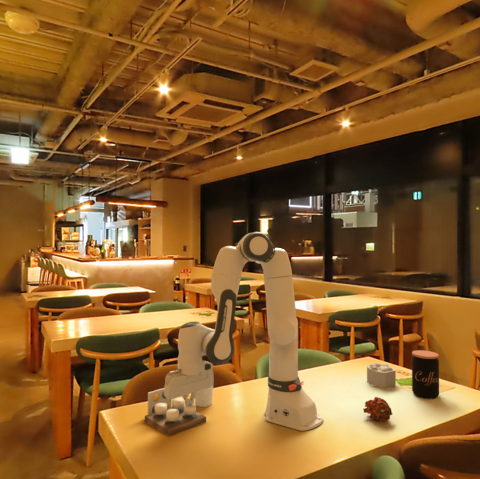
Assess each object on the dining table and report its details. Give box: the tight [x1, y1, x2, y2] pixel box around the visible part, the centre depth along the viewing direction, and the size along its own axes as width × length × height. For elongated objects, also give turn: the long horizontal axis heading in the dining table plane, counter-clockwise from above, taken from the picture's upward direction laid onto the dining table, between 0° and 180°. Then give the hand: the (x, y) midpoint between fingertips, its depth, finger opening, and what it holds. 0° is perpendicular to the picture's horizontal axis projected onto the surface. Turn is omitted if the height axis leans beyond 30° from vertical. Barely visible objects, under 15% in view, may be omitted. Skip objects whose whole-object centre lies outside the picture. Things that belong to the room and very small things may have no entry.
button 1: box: [184, 403, 197, 415], centre depth 145 cm, size 4×4×2 cm
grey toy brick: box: [366, 362, 397, 389], centre depth 187 cm, size 10×13×9 cm
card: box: [147, 387, 172, 415], centre depth 152 cm, size 1×10×9 cm, turn 134°
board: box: [144, 406, 207, 437], centre depth 145 cm, size 16×16×2 cm
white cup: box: [194, 384, 214, 408], centre depth 162 cm, size 8×8×10 cm
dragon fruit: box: [362, 396, 393, 422], centre depth 148 cm, size 8×8×12 cm
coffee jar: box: [411, 349, 440, 400], centre depth 172 cm, size 11×11×18 cm
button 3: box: [171, 397, 185, 409], centre depth 150 cm, size 4×4×2 cm
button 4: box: [155, 403, 167, 415], centre depth 145 cm, size 4×4×2 cm
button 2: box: [166, 409, 179, 421], centre depth 139 cm, size 4×4×2 cm
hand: (189, 404), depth 145 cm, fingers closed
